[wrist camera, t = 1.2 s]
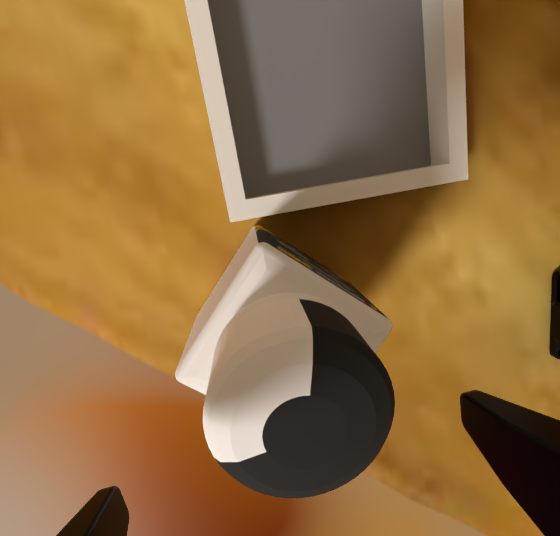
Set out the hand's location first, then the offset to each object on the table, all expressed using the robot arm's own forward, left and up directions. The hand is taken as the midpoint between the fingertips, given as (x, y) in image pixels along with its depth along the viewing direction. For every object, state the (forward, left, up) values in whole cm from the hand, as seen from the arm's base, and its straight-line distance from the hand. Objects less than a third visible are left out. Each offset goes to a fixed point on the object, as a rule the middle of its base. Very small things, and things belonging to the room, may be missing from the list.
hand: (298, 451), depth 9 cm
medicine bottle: (0, +1, -13) cm, 13 cm away
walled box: (-5, -12, -13) cm, 18 cm away
